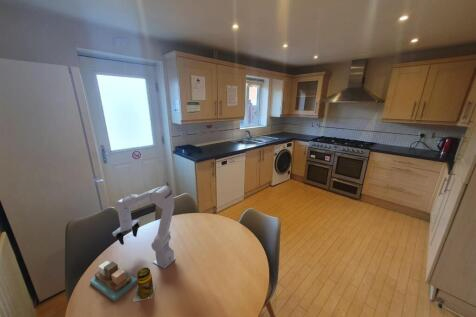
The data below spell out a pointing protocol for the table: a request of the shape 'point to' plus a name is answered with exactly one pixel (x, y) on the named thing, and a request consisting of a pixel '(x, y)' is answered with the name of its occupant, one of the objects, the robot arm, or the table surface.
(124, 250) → the table surface
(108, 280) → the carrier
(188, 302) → the table surface
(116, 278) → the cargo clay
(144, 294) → the condiment
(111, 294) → the dock
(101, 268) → the block
